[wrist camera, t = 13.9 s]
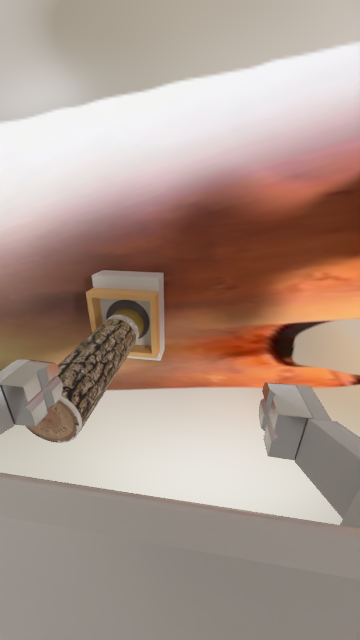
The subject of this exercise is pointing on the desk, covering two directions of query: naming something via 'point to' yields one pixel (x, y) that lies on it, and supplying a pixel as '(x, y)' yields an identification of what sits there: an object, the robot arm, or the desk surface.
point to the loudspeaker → (131, 306)
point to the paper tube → (89, 375)
